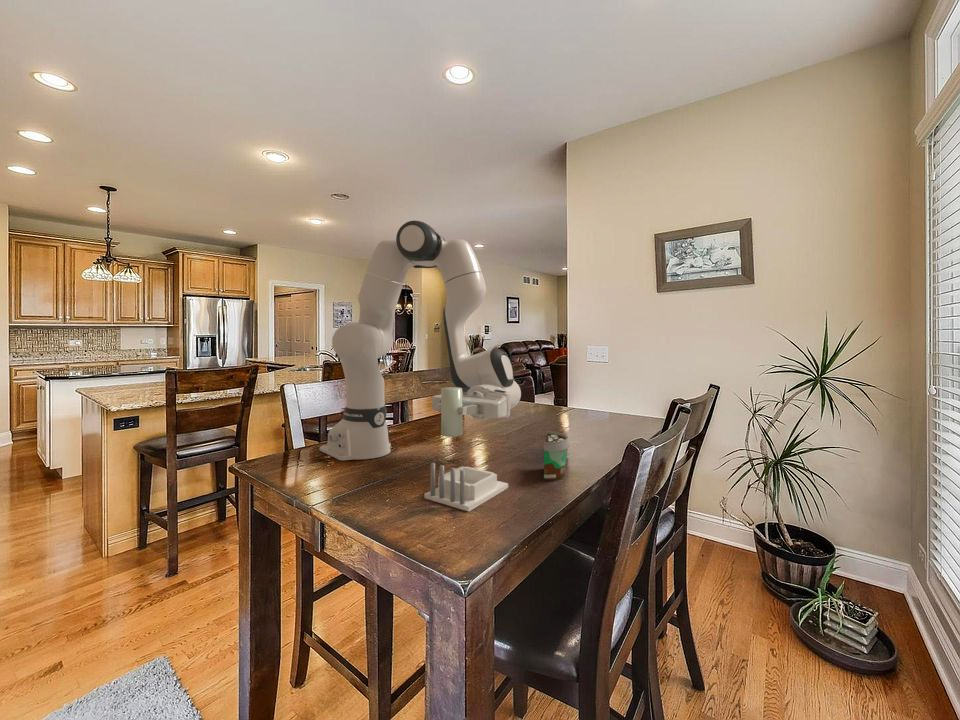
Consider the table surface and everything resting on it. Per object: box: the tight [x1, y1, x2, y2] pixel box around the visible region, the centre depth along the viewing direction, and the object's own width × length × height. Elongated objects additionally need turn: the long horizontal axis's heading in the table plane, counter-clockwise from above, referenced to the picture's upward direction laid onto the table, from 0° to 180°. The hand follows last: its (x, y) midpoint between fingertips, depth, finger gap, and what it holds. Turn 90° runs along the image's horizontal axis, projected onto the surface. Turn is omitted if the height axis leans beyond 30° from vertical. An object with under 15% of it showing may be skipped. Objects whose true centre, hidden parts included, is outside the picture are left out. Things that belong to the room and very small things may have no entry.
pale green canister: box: [440, 386, 463, 438], centre depth 99 cm, size 5×5×11 cm
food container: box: [543, 430, 571, 482], centre depth 106 cm, size 12×6×10 cm, turn 168°
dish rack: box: [423, 462, 509, 512], centre depth 94 cm, size 12×16×8 cm
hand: (449, 409), depth 98 cm, fingers closed on pale green canister, 5 cm apart
